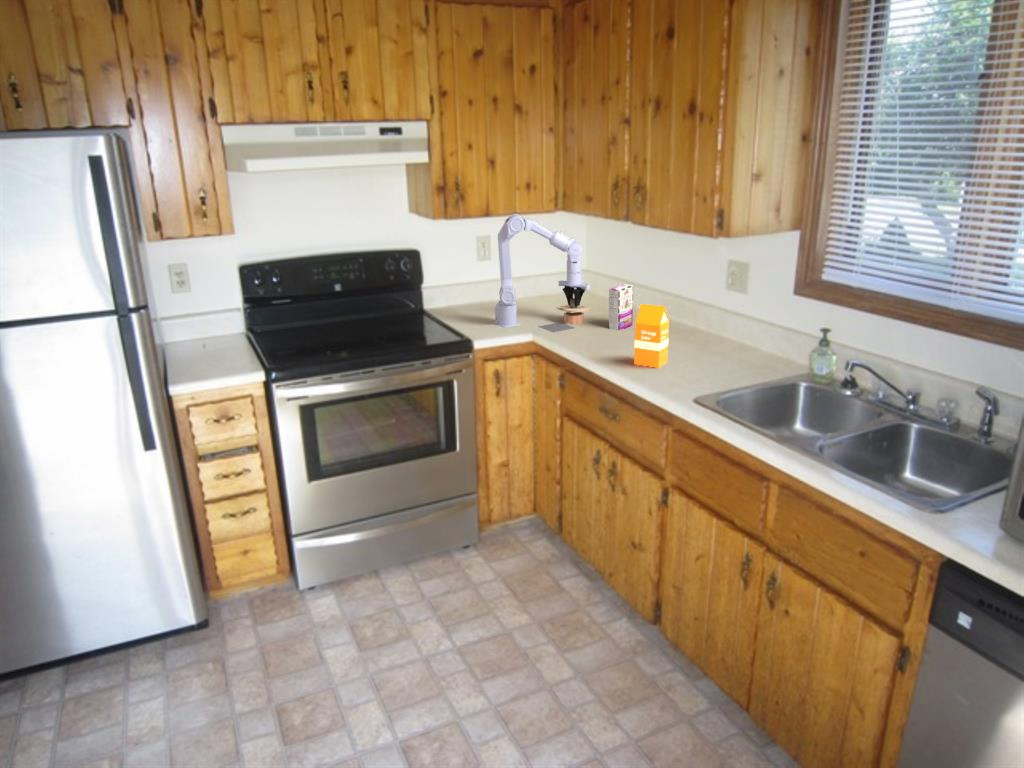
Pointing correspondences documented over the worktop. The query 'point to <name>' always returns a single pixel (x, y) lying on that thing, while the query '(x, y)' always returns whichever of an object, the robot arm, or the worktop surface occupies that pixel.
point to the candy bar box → (620, 307)
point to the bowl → (573, 318)
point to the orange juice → (651, 336)
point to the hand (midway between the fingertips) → (573, 305)
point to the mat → (556, 327)
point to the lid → (573, 307)
